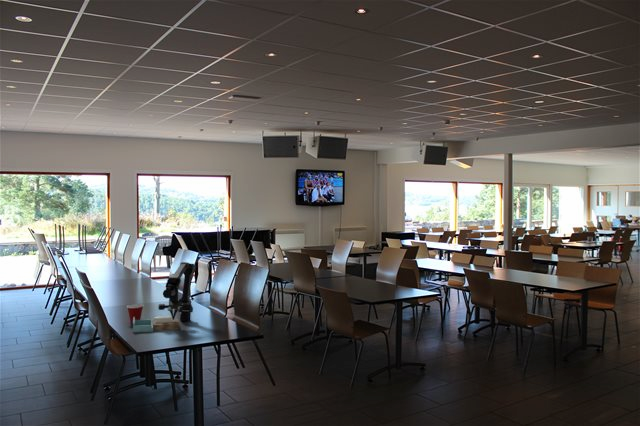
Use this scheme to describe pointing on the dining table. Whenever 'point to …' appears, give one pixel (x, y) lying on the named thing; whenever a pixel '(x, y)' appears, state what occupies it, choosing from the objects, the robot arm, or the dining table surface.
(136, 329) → the box
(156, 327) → the walnut plate
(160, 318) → the tile
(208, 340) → the dining table surface
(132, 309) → the plastic cup
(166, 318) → the tile
